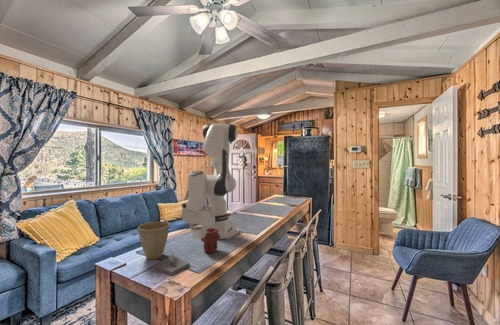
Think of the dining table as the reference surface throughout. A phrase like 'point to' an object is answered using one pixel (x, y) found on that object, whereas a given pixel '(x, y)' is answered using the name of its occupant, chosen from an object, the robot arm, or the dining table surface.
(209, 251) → the mechanical component
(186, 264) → the shaft base
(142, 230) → the plant pot
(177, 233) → the dining table surface
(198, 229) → the steel collar
